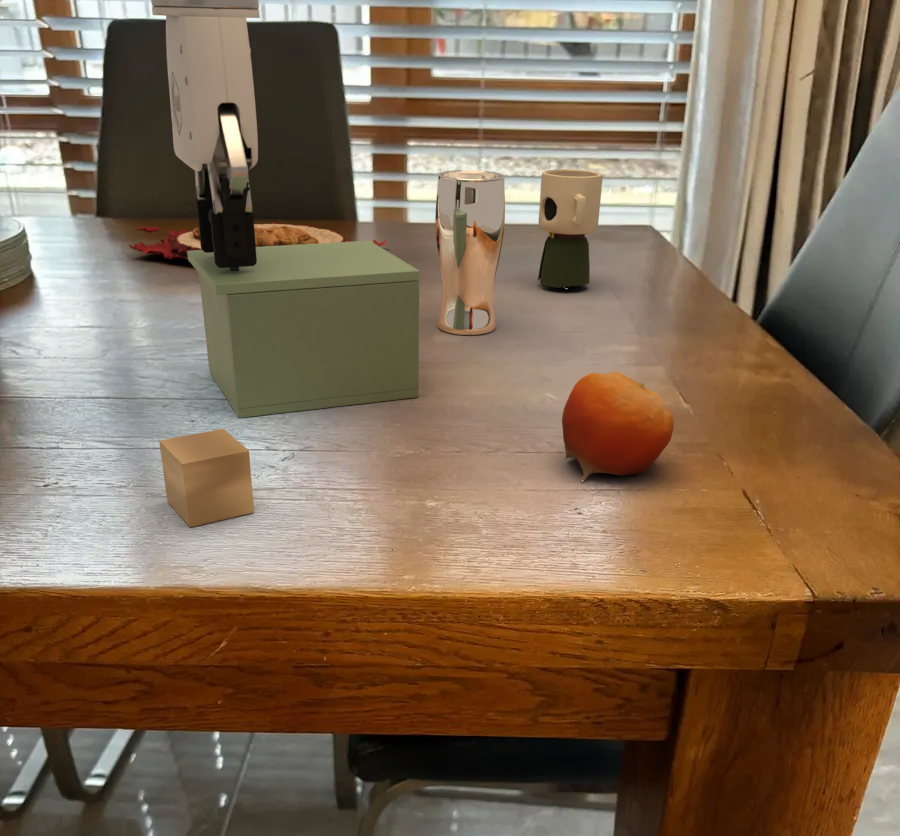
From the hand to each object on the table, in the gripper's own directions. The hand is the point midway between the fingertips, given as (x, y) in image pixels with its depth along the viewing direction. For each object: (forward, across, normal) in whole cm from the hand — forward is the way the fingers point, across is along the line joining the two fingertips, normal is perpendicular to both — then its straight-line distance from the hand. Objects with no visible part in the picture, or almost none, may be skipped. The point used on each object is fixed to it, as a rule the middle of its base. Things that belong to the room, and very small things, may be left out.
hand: (228, 256), depth 79 cm
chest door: (+1, 0, +6) cm, 6 cm away
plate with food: (+12, -54, +15) cm, 57 cm away
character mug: (+12, -26, +45) cm, 53 cm away
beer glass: (+12, -13, +27) cm, 32 cm away
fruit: (+12, +25, +22) cm, 35 cm away
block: (+11, +22, -7) cm, 26 cm away
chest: (+11, 0, +6) cm, 13 cm away
